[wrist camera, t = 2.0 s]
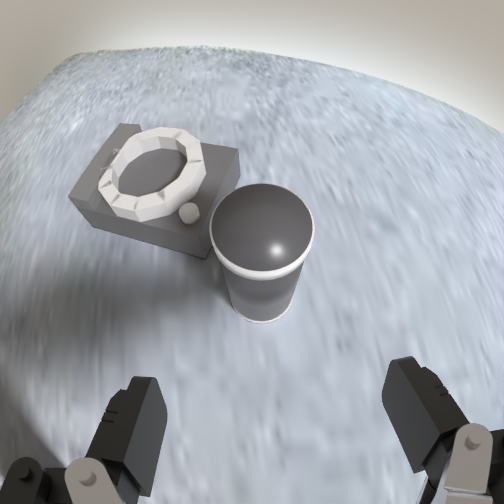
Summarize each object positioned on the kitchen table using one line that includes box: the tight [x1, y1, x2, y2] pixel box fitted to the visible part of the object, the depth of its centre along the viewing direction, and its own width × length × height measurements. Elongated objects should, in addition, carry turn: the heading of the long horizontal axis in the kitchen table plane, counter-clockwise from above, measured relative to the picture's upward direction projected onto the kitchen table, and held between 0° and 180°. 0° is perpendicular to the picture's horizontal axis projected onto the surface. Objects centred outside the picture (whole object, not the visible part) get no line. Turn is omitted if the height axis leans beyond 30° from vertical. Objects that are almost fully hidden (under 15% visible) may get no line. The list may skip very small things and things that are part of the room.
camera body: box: [68, 123, 240, 259], centre depth 24 cm, size 12×9×5 cm
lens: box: [210, 183, 314, 324], centre depth 18 cm, size 5×5×10 cm
